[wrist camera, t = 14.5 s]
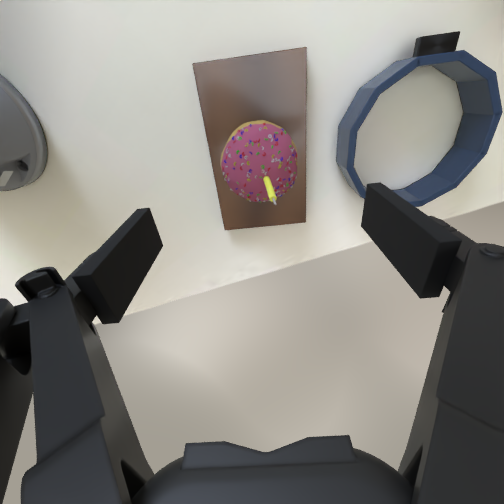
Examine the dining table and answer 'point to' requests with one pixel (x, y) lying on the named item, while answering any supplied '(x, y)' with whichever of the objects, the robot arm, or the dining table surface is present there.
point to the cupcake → (259, 161)
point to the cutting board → (253, 109)
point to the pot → (470, 130)
